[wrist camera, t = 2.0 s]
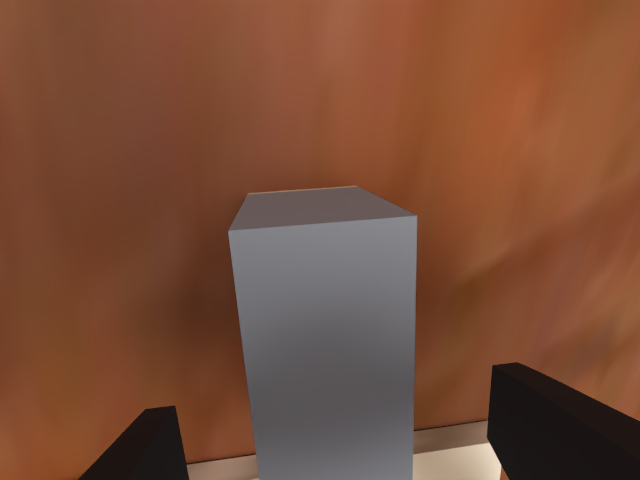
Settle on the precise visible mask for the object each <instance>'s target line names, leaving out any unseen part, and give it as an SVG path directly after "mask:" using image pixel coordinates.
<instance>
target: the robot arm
mask: <svg viewBox="0 0 640 480" xmlns="http://www.w3.org/2000/svg"><path fill="white" fill-rule="evenodd" d="M487 439H488V441H489V443H490V445H491V447H492V448H493V450H494V452H495V454H496V456H497V458H498V460H499V462H500V464H501V465H502V467H503V469H504V471H505V472H506V474H507V476H508V478H509V480H640V421H638V420H636V419H634V418H632V417H630V416H627V415H625V414H623V413H621V412H619V411H617V410H615V409H613V408H611V407H609V406H607V405H605V404H603V403H601V402H599V401H597V400H595V399H593V398H591V397H589V396H587V395H585V394H583V393H581V392H579V391H577V390H575V389H573V388H571V387H569V386H567V385H565V384H563V383H561V382H559V381H557V380H555V379H553V378H551V377H549V376H546V375H544V374H542V373H540V372H538V371H536V370H534V369H532V368H529V367H527V366H525V365H522V364H520V363H517V362H515V363H508V364H500V365H493V366H492V378H491V390H490V402H489V415H488V427H487ZM78 480H189V475H188V470H187V465H186V460H185V454H184V449H183V444H182V439H181V434H180V428H179V423H178V418H177V413H176V408H175V406H168V407H160V408H152V409H145V410H144V411H143V412H142V413H141V414H140V415H139V416H138V417H137V418H136V419H135V421H134V422H133V423H132V424H131V425H130V426H129V427H128V428H127V429H126V430H125V431H124V432H123V433H122V434H121V435H120V436H119V437H118V438H117V439H116V440H115V442H114V443H113V444H112V445H111V446H110V447H109V448H108V449H107V450H106V451H105V452H104V453H103V454H102V455H101V456H100V457H99V458H98V459H97V461H96V462H95V463H94V464H93V465H92V466H91V467H90V468H89V469H88V470H87V471H86V472H85V473H84V474H83V475H82V476H81V477H80V478H79V479H78Z"/></svg>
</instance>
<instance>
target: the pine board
mask: <svg viewBox="0 0 640 480" xmlns="http://www.w3.org/2000/svg"><path fill="white" fill-rule="evenodd" d="M487 427H488V421H482V422H475V423H468V424H461V425H455V426H448V427H441V428H434V429H427V430H421V431H414V432H413V480H500V472H501V464H500V462H499V460H498V458H497V456H496V454H495V452H494V450H493V448H492V447H491V445H490V443H489V441H488V439H487ZM187 470H188V475H189V480H259V474H258V466H257V458H256V455H251V456H244V457H237V458H230V459H223V460H217V461H210V462H203V463H196V464H189V465H187Z"/></svg>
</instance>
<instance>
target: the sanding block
mask: <svg viewBox="0 0 640 480" xmlns="http://www.w3.org/2000/svg"><path fill="white" fill-rule="evenodd" d="M228 235H229V243H230V251H231V259H232V267H233V275H234V283H235V291H236V299H237V307H238V315H239V323H240V331H241V339H242V347H243V355H244V363H245V371H246V379H247V386H248V394H249V402H250V410H251V418H252V426H253V434H254V442H255V450H256V458H257V466H258V474H259V480H413V428H414V371H415V314H416V257H417V215H415V214H413V213H411V212H409V211H407V210H405V209H403V208H401V207H399V206H397V205H395V204H393V203H391V202H389V201H387V200H385V199H383V198H380V197H378V196H376V195H374V194H372V193H370V192H368V191H366V190H364V189H362V188H360V187H358V186H345V187H330V188H316V189H302V190H287V191H273V192H259V193H248V195H247V196H246V198H245V200H244V202H243V204H242V206H241V208H240V209H239V211H238V213H237V215H236V217H235V219H234V221H233V222H232V224H231V226H230V228H229V230H228Z"/></svg>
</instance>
